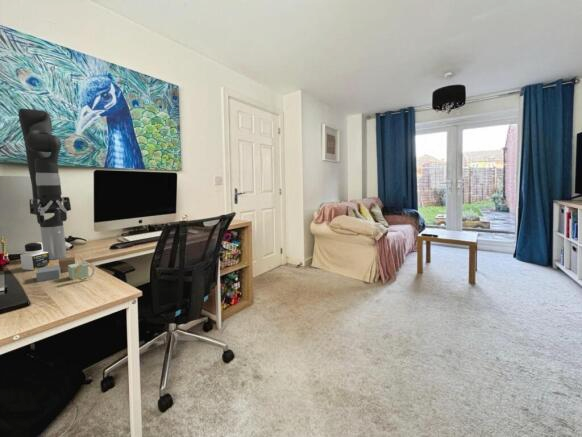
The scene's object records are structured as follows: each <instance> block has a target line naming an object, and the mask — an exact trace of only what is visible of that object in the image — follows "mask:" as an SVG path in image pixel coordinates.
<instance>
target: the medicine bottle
mask: <svg viewBox="0 0 582 437" xmlns="http://www.w3.org/2000/svg"><path fill="white" fill-rule="evenodd" d="M24 252H25V253H22V254H20V263H21V269H22V270H24V271H25V270H26V271H38V269H40V268H47V267H51V266H50V265H51V262H50V260H49V253H48V252H43V245H42V242H39V241H38V242H28V243H26V244H25V245H24Z"/></svg>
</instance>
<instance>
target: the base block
mask: <svg viewBox="0 0 582 437" xmlns="http://www.w3.org/2000/svg"><path fill="white" fill-rule="evenodd" d="M61 274H62V273H61V272H60V266H59V265H55V266H48V267H45V268H40V269H38V270H36V273H35V275H36V276H35V277H36V282H37V283H39V282H46V281H52V280H58V279H60V277H61Z"/></svg>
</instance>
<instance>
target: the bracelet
mask: <svg viewBox="0 0 582 437" xmlns="http://www.w3.org/2000/svg"><path fill="white" fill-rule="evenodd" d="M82 262H83V263H82ZM79 263H80V264H78V265H77V266H76V268H75V270H74V275H75V277H76V278H77V279H76V280H78V281H85V282H86V281H88V280H90V279H91V278H93V277H94V275H95V272H96V269H95V266H94V264H91V263H89V262H88V261H86V262H85V261H81V262H79ZM85 265H87V266H88V267H90V268H91V269H92V272H91V275H89V277H85V278H79V277H77V274H76V273H77V271H78V270H79V269H80V268H81V267H83V266H85Z"/></svg>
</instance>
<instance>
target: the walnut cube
mask: <svg viewBox="0 0 582 437" xmlns="http://www.w3.org/2000/svg"><path fill="white" fill-rule="evenodd" d="M71 264H76V257H75V256H69V257H63V258H59V259H58V266H60V272H61V274H64V273H69V272H68V265H71Z"/></svg>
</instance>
